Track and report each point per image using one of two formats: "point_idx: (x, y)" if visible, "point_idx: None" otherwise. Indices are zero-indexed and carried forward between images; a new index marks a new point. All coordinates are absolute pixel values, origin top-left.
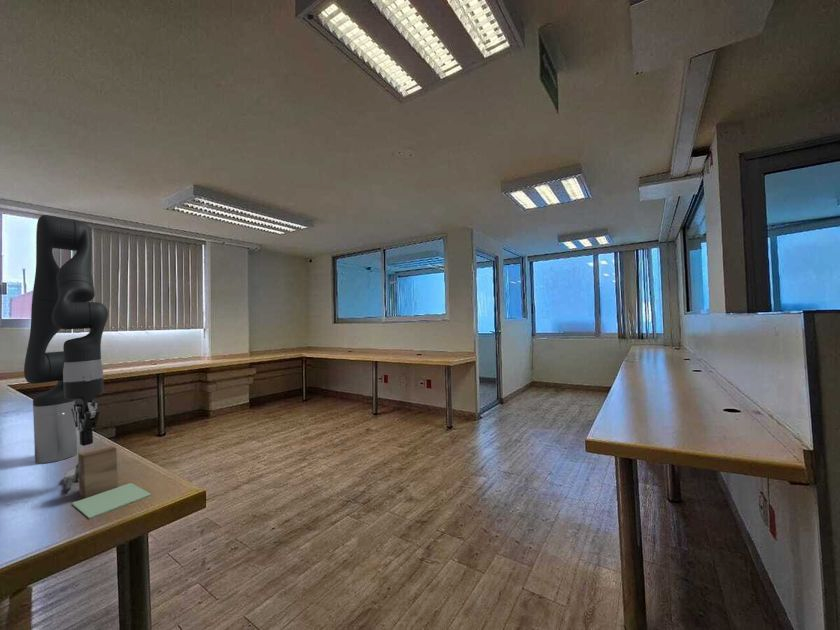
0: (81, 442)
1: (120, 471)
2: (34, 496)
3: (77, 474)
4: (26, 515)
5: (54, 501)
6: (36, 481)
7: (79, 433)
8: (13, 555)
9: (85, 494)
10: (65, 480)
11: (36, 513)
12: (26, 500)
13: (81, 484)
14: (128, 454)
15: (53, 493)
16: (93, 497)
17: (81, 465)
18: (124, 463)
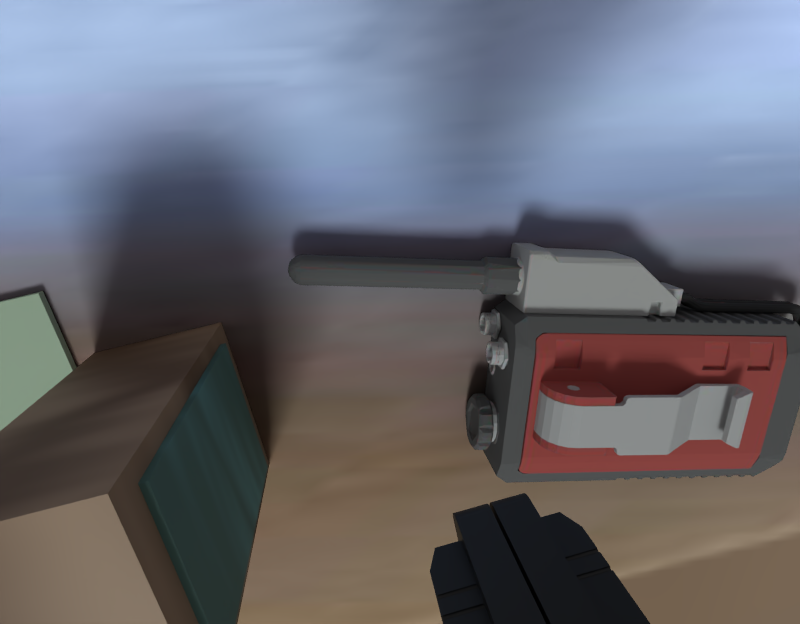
0: (462, 536)
1: (467, 501)
2: (427, 91)
3: (512, 322)
4: (48, 62)
5: (201, 201)
6: (761, 90)
7: (599, 614)
8: None
9: (82, 363)
10: (519, 253)
11: (38, 115)
12: (384, 50)
13: (147, 362)
14: (775, 533)
15: (381, 191)
16: (43, 393)
17: (50, 448)
18: (610, 517)
